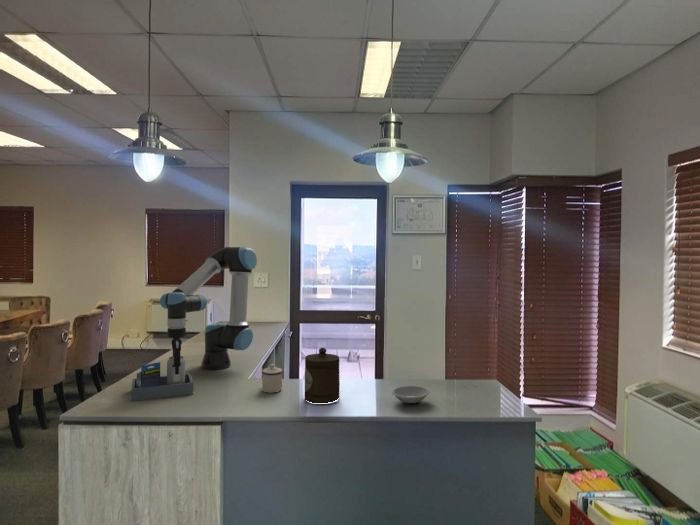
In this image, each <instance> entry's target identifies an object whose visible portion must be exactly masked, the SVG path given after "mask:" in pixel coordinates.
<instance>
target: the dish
mask: <svg viewBox="0 0 700 525" xmlns="http://www.w3.org/2000/svg"><path fill="white" fill-rule="evenodd" d="M430 392H431V391H430V389H428V388H426V387H423V386H421V385H420V386H419V385H404V386H402V385H401V386H399V387H398V386H397V387H395V388H394V389H392V390H391V393H392V395H393V396H395V397H396V399H398V400H399V402H402V403H404V404H406V403H407V404H409V403H413V404H417V403H420V402H421V401H423V400H424V399H425V398H426V397H427V396H429V395H430ZM407 396H415V397H407ZM416 402H417V403H416Z"/></svg>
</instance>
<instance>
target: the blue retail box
mask: <svg viewBox="0 0 700 525" xmlns="http://www.w3.org/2000/svg"><path fill="white" fill-rule="evenodd" d="M160 376H161V361H159V362H153V363H149V364H144V365H141V368H140V372H138V373H136V378H137V388H143V387H152V386H160Z"/></svg>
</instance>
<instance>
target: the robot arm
mask: <svg viewBox="0 0 700 525" xmlns="http://www.w3.org/2000/svg"><path fill="white" fill-rule="evenodd" d="M256 254H257V253H256V252H255V250H254V249H252V248H250V247H247V246H225V247H222V248H220V249H218V250H216V251H215V252H213V253H212V254H211V255H209V256H208V257H207V258H206V259H205V261H204V263H203V264H202V265H201V266H200V267H198V268H197V270H196V271H194V272H193V273H192V274H191V275H190V276H189V277H188V278H187V279H185V280H184V281H183V282H182V283H181V284H179V285H178V286H177V287H176V288H175V289H173V291H172V292H167V293H163V295H161V296H160V299H159V303H160V307H162V308H163V309H164V310H167V319H166V320H167V321H166V322H167V323H166V324H167V331H166V332H167V334H166V335H167V338H172V340H171V348H172V356H174V366H172V367H173V382H177V381H180V365H181V364H180V356H181V350H182V339H181V338H183V337H185V336H186V334H187V333H186V331H187V330H186V329H187V328H186V322H187V321H188V320H187V319H186V317H187V313H194V312H201V311H203V310H205V309H206V308H207V304H208V302H207V301H208V300H207V298H206V296H204V295H203V294H195V293H196V292H197V291H198V290H199V289H200V288H202V287H203V285H205V284H206V283H207V282H208V281H209V280H210V279H211V278H212V277H213V276H214V275H216V274H219V273H220V272H221V271H223V270H226V269H227V270H228V272H229V274H230V275H231V286H230V302H229V320H228V322H218V323H213V324H207V325H206V326H205V329H204V331H205V332H204V354H203V358H202V361H201V362H200V363H201V365H200V367H201V369H204V370H212V371H213V370H223V368H224V369H227V367H228V368H230V367H231V366H232V365H231V363H232V362H231V359H230V355H229V353H228V350H233V351H234V350H235V351H245V350H247V349H248V348H249V347H250V346H251V344H252V343H253V340H254V339H253V338H254V332H253V329H251V328H250V327H249V326H250V324H249V322H248V321H247V309H248V292H249V277H250V275H251V274H252V271H253V269H255V268H256V266H257V264H258V258H257V257H258V256H257V255H256ZM176 363H177V364H176ZM230 365H231V366H230ZM229 366H230V367H229Z"/></svg>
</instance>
